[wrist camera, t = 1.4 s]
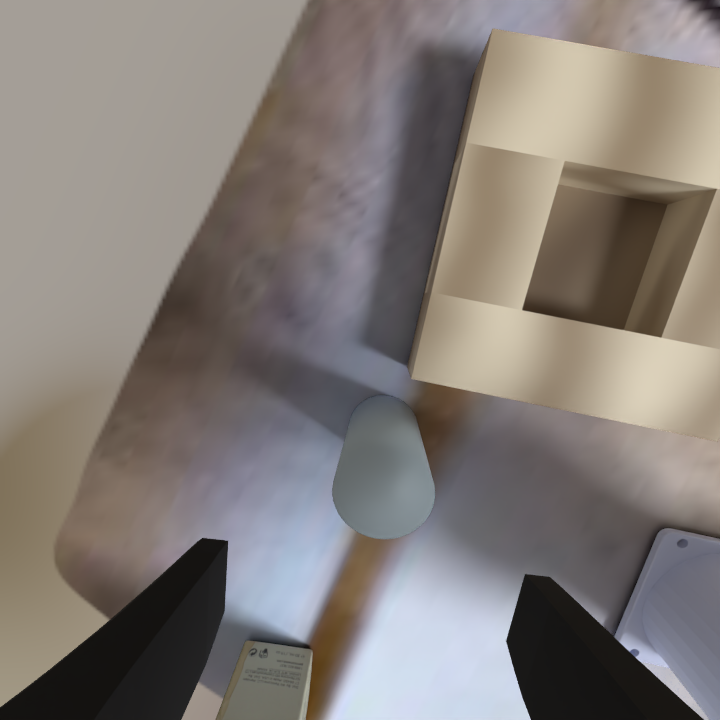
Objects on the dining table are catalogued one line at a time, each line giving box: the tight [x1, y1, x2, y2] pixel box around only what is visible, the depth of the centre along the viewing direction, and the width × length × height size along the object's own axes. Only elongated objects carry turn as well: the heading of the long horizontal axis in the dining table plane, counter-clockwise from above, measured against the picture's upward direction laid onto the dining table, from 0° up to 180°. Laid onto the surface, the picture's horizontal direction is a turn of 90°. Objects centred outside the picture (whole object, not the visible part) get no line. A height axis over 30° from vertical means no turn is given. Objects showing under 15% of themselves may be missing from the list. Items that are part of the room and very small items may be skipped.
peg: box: [332, 395, 435, 539], centre depth 15 cm, size 4×4×6 cm
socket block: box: [407, 29, 720, 442], centre depth 14 cm, size 13×13×3 cm
